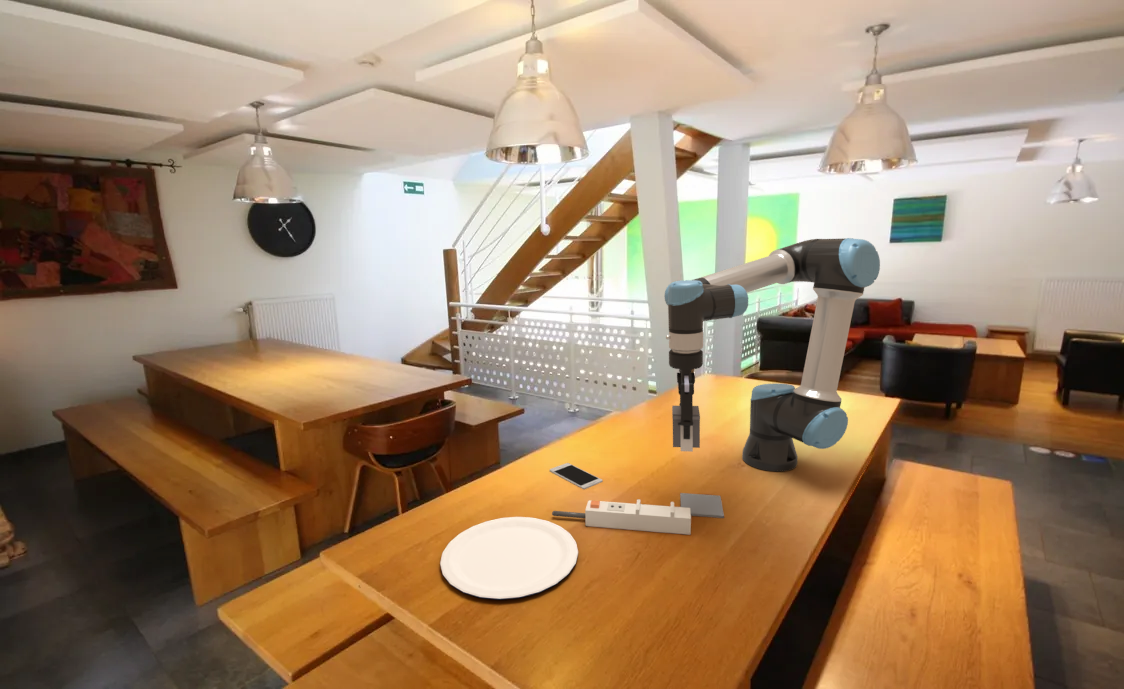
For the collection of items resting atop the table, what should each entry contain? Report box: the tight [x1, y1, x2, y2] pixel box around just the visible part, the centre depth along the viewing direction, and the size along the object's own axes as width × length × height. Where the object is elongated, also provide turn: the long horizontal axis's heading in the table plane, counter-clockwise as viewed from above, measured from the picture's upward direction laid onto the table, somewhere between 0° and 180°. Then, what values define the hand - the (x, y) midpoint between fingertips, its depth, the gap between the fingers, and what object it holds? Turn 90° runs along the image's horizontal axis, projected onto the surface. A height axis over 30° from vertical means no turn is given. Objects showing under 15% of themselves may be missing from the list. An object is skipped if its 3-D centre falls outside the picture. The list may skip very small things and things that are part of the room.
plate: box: [439, 516, 579, 601], centre depth 113 cm, size 29×29×2 cm
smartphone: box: [549, 462, 603, 490], centre depth 150 cm, size 7×16×1 cm, turn 39°
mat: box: [679, 492, 725, 519], centre depth 131 cm, size 10×10×1 cm
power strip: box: [551, 499, 692, 536], centre depth 124 cm, size 33×5×5 cm, turn 78°
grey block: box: [671, 405, 701, 449], centre depth 123 cm, size 6×6×8 cm
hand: (686, 444), depth 124 cm, fingers closed on grey block, 6 cm apart
